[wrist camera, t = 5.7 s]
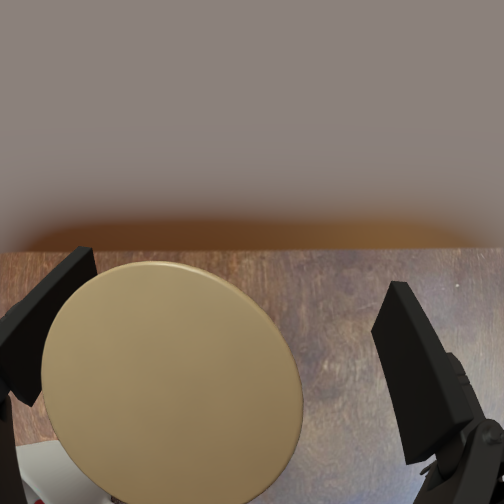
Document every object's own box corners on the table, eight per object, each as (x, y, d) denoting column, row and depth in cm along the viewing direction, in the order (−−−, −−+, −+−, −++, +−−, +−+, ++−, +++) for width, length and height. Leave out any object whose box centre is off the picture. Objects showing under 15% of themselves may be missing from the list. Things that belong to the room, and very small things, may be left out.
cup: (165, 467, 14) (120, 528, 7) (158, 538, 12) (126, 596, 4) (40, 412, 15) (-31, 427, 7) (44, 485, 12) (-11, 513, 5)
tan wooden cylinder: (202, 336, 17) (14, 317, 3) (246, 316, 17) (223, 212, 3) (223, 380, 16) (113, 530, 2) (268, 360, 17) (349, 465, 2)
